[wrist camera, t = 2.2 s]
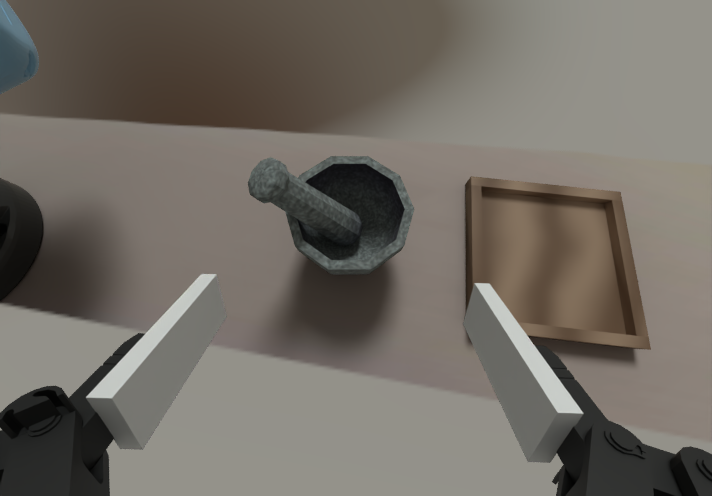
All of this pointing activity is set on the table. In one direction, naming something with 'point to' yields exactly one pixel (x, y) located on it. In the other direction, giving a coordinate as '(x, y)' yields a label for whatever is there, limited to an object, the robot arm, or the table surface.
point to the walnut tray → (556, 260)
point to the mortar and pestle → (339, 210)
